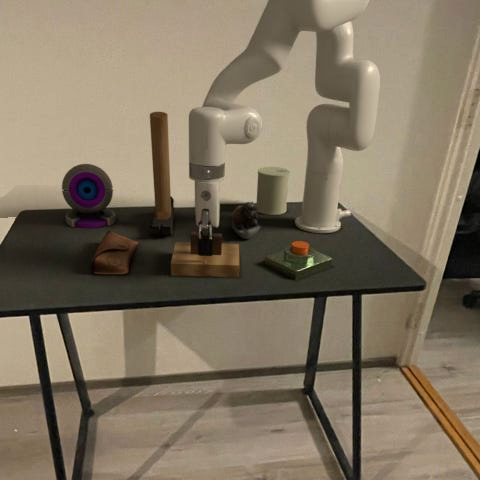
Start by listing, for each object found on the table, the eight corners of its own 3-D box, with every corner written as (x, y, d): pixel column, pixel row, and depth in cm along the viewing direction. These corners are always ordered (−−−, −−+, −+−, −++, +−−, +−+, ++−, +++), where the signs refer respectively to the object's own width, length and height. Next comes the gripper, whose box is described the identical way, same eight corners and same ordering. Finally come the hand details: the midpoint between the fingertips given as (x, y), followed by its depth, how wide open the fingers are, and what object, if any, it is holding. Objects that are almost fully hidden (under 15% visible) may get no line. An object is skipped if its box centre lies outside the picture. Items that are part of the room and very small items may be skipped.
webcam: (65, 229, 139) (57, 171, 131) (66, 213, 149) (59, 158, 142) (116, 227, 142) (111, 170, 134) (114, 211, 152) (110, 157, 145)
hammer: (171, 247, 137) (167, 132, 117) (151, 246, 137) (143, 131, 117) (174, 207, 152) (171, 99, 132) (157, 207, 152) (150, 99, 132)
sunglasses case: (130, 273, 117) (112, 248, 114) (103, 287, 119) (85, 263, 115) (140, 241, 133) (124, 219, 129) (116, 254, 134) (100, 232, 131)
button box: (300, 252, 132) (301, 237, 130) (331, 266, 126) (333, 251, 123) (264, 264, 125) (266, 248, 123) (295, 280, 119) (297, 263, 117)
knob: (221, 251, 123) (222, 232, 120) (221, 255, 121) (221, 235, 119) (191, 250, 123) (190, 231, 120) (190, 254, 121) (190, 234, 119)
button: (299, 246, 126) (300, 239, 125) (311, 252, 123) (312, 245, 122) (287, 250, 123) (288, 243, 123) (299, 256, 121) (300, 249, 120)
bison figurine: (227, 226, 145) (228, 190, 140) (252, 225, 147) (254, 189, 141) (236, 243, 135) (238, 205, 130) (263, 242, 137) (266, 204, 131)
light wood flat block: (238, 255, 129) (238, 243, 127) (238, 277, 119) (239, 264, 117) (175, 253, 128) (175, 241, 127) (171, 275, 118) (170, 262, 116)
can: (290, 214, 156) (293, 173, 149) (259, 215, 154) (261, 173, 148) (282, 204, 163) (285, 164, 157) (252, 205, 162) (254, 165, 156)
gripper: (224, 183, 105) (222, 263, 114) (225, 160, 120) (223, 233, 129) (186, 181, 105) (186, 262, 114) (191, 159, 120) (191, 232, 129)
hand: (206, 247), depth 121 cm, fingers open, 8 cm apart
